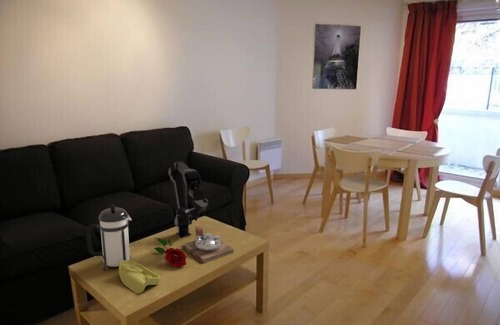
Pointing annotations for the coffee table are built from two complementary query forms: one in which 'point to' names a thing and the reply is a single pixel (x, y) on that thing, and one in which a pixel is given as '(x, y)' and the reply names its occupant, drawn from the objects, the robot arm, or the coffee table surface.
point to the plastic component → (136, 276)
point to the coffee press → (112, 236)
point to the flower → (172, 254)
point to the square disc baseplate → (208, 255)
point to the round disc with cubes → (206, 241)
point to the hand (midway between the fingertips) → (192, 222)
